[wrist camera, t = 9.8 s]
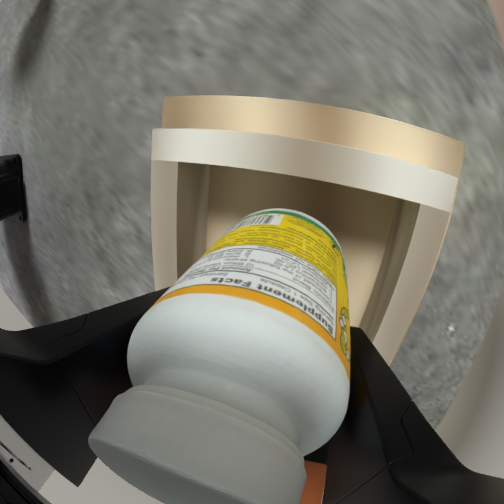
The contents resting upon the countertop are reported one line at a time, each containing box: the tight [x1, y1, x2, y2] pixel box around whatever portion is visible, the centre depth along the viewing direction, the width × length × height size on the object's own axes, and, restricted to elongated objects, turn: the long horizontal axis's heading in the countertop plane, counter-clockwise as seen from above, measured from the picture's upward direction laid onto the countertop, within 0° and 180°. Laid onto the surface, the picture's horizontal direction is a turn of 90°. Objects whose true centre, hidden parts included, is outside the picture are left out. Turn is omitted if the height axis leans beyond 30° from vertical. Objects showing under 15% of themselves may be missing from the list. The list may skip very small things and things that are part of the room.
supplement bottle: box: [88, 208, 351, 504], centre depth 8 cm, size 5×5×10 cm
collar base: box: [151, 96, 465, 366], centre depth 12 cm, size 14×14×4 cm
